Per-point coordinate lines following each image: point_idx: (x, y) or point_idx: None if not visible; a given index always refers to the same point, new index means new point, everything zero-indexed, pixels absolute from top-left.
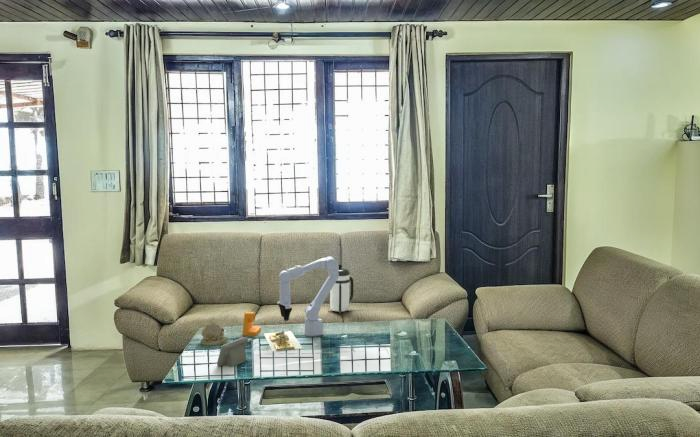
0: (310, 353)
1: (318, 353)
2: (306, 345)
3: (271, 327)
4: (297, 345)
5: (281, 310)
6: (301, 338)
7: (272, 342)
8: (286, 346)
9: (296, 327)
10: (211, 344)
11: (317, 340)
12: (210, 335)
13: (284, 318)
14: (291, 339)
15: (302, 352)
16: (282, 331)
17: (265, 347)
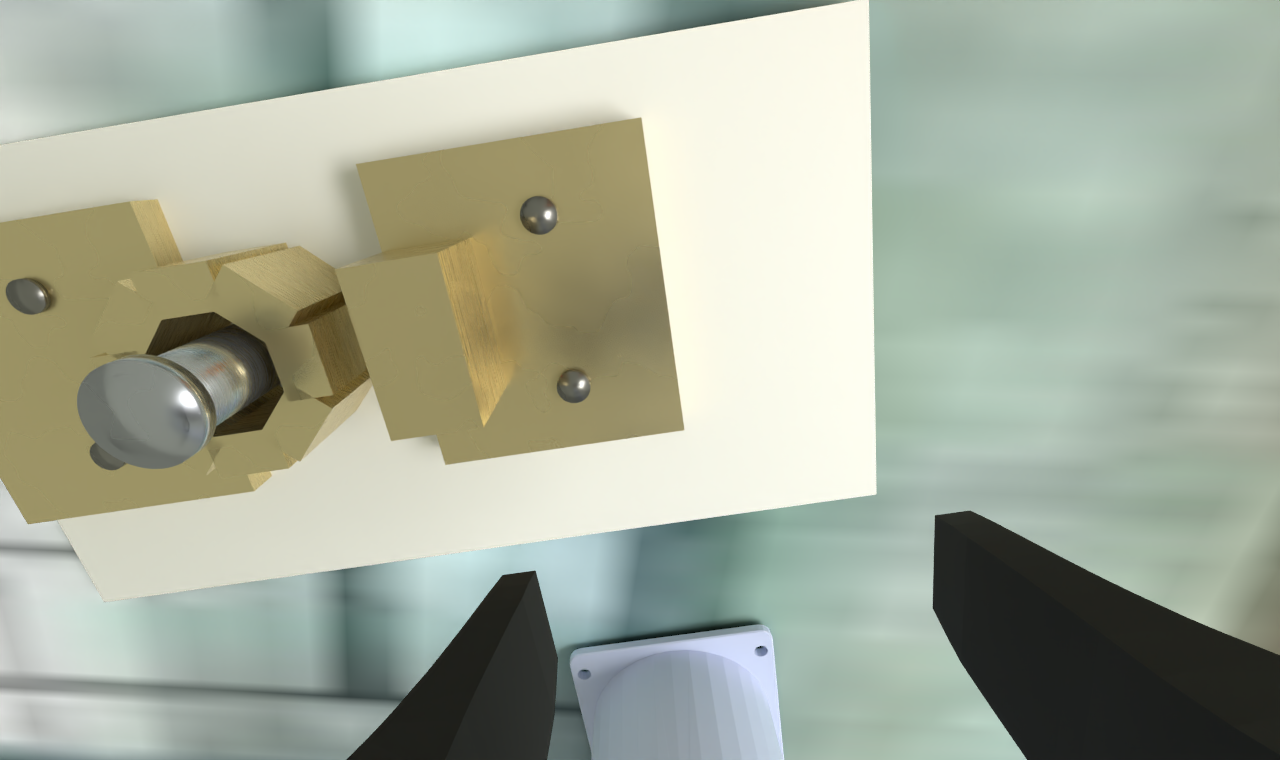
0: (5, 659)
1: (26, 731)
2: (297, 635)
3: (1258, 177)
4: (208, 548)
5: (1097, 670)
6: (579, 596)
7: (321, 178)
8: (22, 412)
9: (1079, 560)
10: None
11: None
12: None
13: (470, 630)
14: (473, 484)
15: (21, 580)
16: (164, 431)
17: (146, 40)
